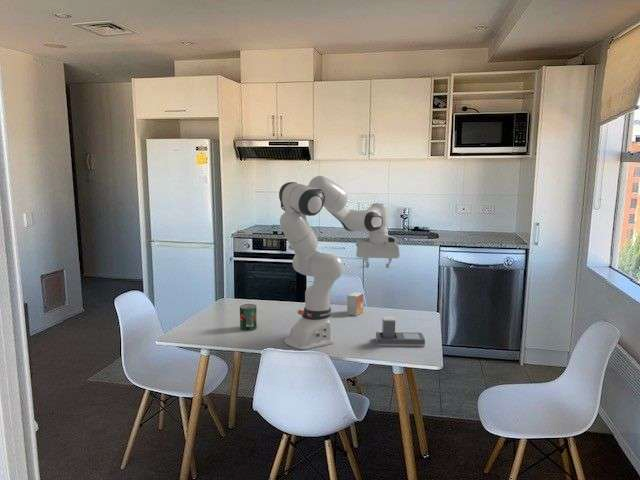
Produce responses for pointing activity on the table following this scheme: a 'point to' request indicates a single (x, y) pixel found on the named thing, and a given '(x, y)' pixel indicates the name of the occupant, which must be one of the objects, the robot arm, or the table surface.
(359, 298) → the small box
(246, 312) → the canned tomato
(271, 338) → the table surface
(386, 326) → the plug
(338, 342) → the table surface
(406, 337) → the gray rectangular base
